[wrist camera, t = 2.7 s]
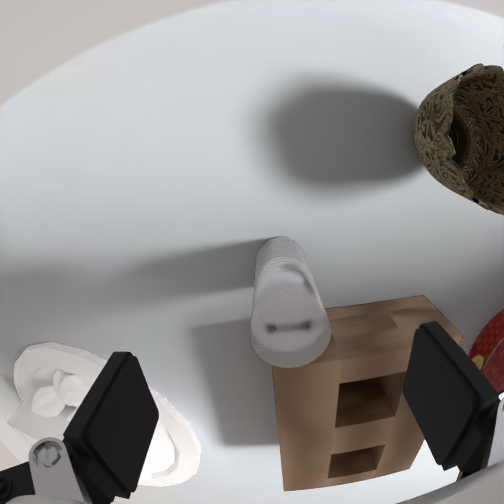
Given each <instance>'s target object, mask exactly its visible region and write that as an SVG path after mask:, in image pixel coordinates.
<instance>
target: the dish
mask: <svg viewBox="0 0 504 504" xmlns="http://www.w3.org/2000/svg"><path fill="white" fill-rule="evenodd" d="M106 363H107V361H106V360H104V359H102V358H100V357H98V356H96V355H94V354H92V353H90V352H88V351H86V350H84V349H79V348H75V347H71V346H66V345H62V344H58V343H54V342H47V343H42V344H37V345H32V346H28V347H27V348H26V349H25V350H24V351H23V353H22V354H21V355H20V357H19V358H18V359H17V361H16V362H15V363H14V385H15V387H16V390H17V393H18V395H19V397H20V400H21V402H22V404H21V405H20V406H19V408H18V409H17V410H16V412H15V413H14V414H13V416H12V417H11V418H10V420H9V421H8V422H7V423H8V424H9V425H10V426H11V427H12V428H13V429H14V430H15V431H16V432H17V433H18V434H19V435H21V436H22V437H23V438H24V439H25V440H26V441H27V442H28V443H29V444H30V445H31V446H33V445H34V444H35V443H36V442H38V441H39V440H41V439H43V438H48V437H53V438H57V439H60V440H61V441H62V440H63V439H64V436H63V433H64V432H65V430H66V428H67V426H68V425H69V423H70V421H71V419H72V418H73V416H74V414H75V413H76V411H77V409H78V408H79V406H80V404H81V403H82V401H83V399H84V398H85V396H86V395H87V393H88V391H89V390H90V388H91V386H92V385H93V383H94V382H95V380H96V378H97V377H98V375H99V374H100V372H101V371H102V369H103V367H104V366H105V364H106ZM148 387H149V386H148ZM149 389H150V392H151V394H152V396H153V399H154V401H155V403H156V406H157V408H158V410H159V419H158V422H157V425H156V429H155V432H154V435H153V438H152V441H151V444H150V447H149V450H148V453H147V456H146V459H145V462H144V466H143V469H142V472H141V475H140V478H139V482H138V485H148V486H168V485H173V484H178V483H183V482H185V481H186V480H188V479H189V478H190V477H192V476H193V475H194V474H195V473H197V472H198V467H199V461H200V456H201V450H202V448H201V446H200V443H199V441H198V439H197V437H196V435H195V433H194V431H193V429H192V426H191V424H189V423H188V422H187V421H186V420H185V418H184V417H183V416H182V415H181V414H180V413H179V412H178V411H177V410H176V409H175V408H174V407H173V406H172V405H171V404H170V403H169V402H168V401H167V400H166V399H165V398H164V397H163V396H162V395H160V394H159V393H157V392H156V391H154V390H153V389H151V388H150V387H149Z"/></svg>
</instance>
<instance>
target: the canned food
mask: <svg viewBox="0 0 504 504" xmlns="http://www.w3.org/2000/svg"><path fill="white" fill-rule="evenodd" d="M468 357H469V358H470V359H471V360H472V361H473V362H474V364H475V365H476V366H477V367H478V368H479V370H480V371H481V372H482V373H483V374H484V376H485V377H486V378H487V379H488V381H489V382H490V383H491V384H492V386H493V387H494V388H495V389H496V391H497V392H498V393H499V394H501V393H503V392H504V309H503V310H502V311H501V312H499V313H498V314H497V315H496V316H495V317H494V318H493V319H492V320H491V321H490V322H489V323H488V324H487V325H486V326H485V328H484V329H483V330H482V332H481V333H480V335H479V336H478V338H477V339H476V341H475V343H474V345H473V347H472V349H471V351H470V354H469V356H468Z"/></svg>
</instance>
